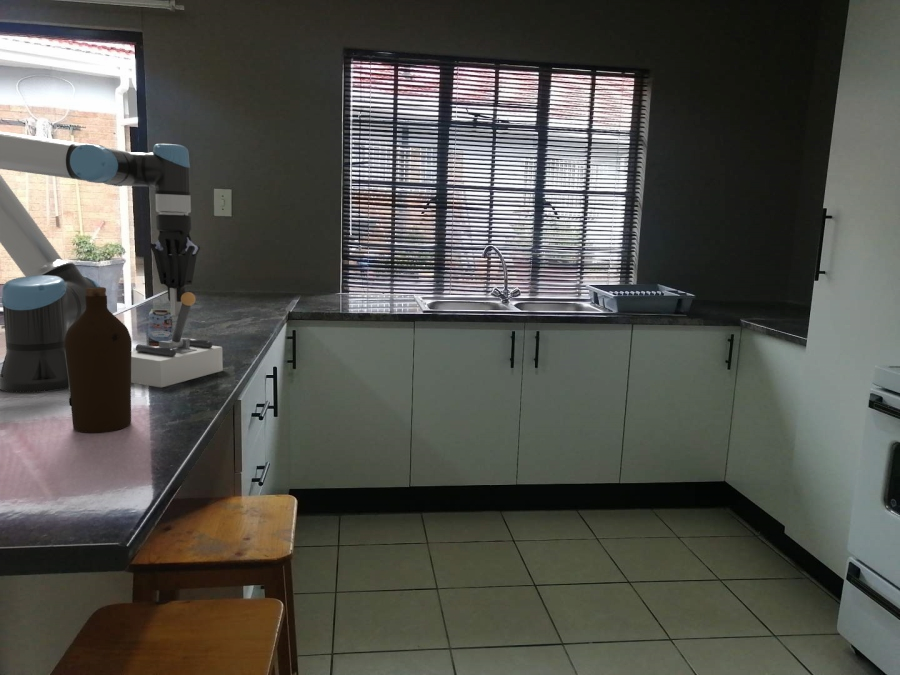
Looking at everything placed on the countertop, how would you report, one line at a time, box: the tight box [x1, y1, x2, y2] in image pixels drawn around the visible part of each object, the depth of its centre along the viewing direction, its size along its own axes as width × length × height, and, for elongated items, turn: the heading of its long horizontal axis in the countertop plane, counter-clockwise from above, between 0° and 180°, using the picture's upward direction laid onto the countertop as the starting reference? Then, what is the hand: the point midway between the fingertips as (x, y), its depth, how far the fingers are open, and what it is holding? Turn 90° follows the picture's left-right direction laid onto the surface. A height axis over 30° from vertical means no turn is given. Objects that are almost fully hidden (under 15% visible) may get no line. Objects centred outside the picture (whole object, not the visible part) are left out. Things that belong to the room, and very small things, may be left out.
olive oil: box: [64, 286, 133, 434], centre depth 121 cm, size 11×11×25 cm
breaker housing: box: [131, 336, 224, 388], centre depth 161 cm, size 20×13×8 cm, turn 158°
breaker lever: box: [168, 291, 196, 348], centre depth 160 cm, size 4×3×15 cm
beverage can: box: [147, 308, 173, 347], centre depth 188 cm, size 6×7×12 cm
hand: (177, 315), depth 160 cm, fingers closed
